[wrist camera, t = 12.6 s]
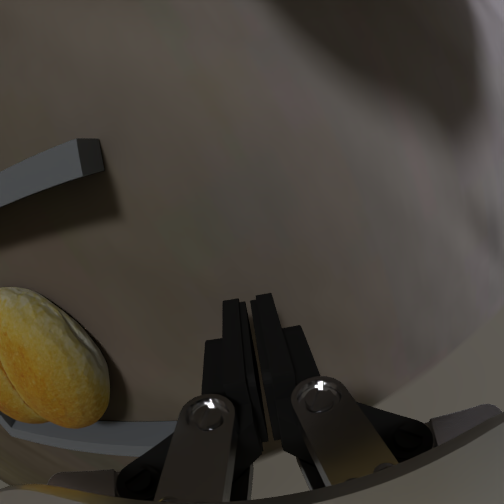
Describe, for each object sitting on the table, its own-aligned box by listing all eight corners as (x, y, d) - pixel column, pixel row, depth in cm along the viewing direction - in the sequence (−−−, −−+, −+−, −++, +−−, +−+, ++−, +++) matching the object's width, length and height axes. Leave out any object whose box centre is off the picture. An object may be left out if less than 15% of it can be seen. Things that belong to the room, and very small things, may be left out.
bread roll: (138, 402, 14) (125, 462, 10) (27, 398, 13) (6, 439, 10) (73, 264, 11) (23, 313, 7) (-34, 289, 10) (-74, 324, 7)
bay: (98, 138, 9) (76, 138, 7) (195, 431, 14) (195, 456, 13) (-78, 226, 8) (-96, 235, 7) (19, 419, 14) (11, 435, 12)
